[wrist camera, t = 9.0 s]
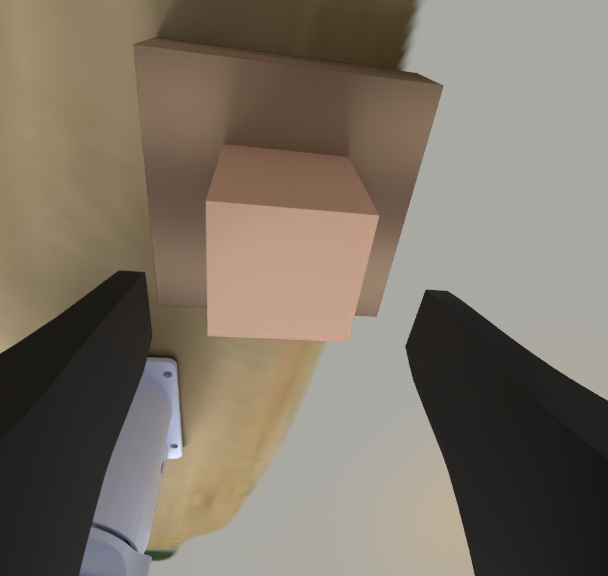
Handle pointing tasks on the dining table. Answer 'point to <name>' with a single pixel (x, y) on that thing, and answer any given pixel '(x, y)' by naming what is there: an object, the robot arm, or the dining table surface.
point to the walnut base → (271, 142)
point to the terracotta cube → (285, 244)
